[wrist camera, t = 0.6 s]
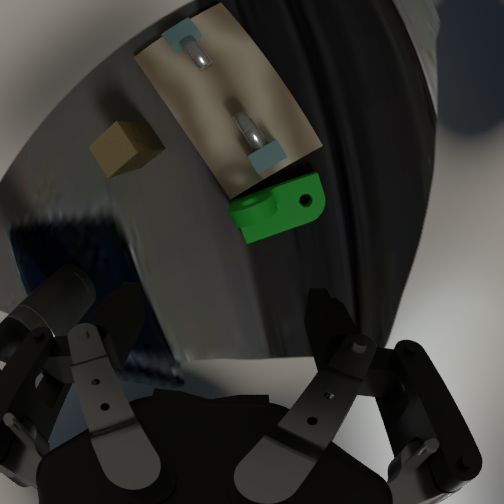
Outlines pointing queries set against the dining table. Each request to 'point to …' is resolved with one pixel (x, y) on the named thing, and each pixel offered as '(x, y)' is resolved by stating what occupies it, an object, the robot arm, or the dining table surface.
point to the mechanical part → (278, 207)
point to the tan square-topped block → (126, 147)
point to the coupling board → (227, 99)
